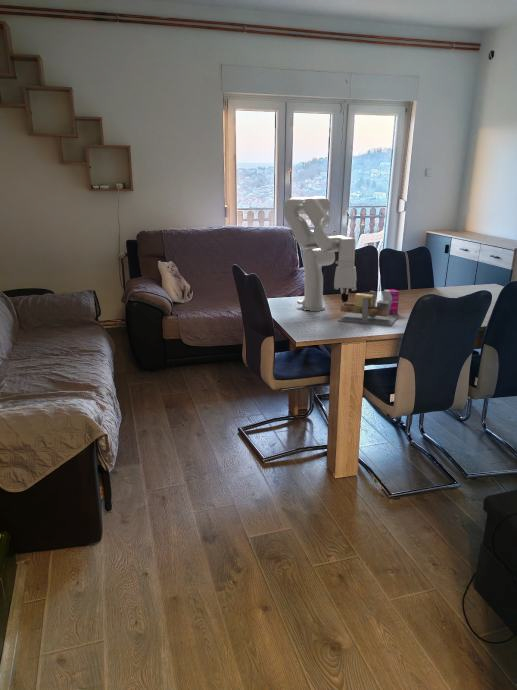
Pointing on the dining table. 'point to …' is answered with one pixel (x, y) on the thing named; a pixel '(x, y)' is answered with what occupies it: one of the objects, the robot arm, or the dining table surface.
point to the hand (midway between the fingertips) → (344, 301)
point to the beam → (380, 310)
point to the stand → (366, 318)
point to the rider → (359, 300)
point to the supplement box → (392, 300)
